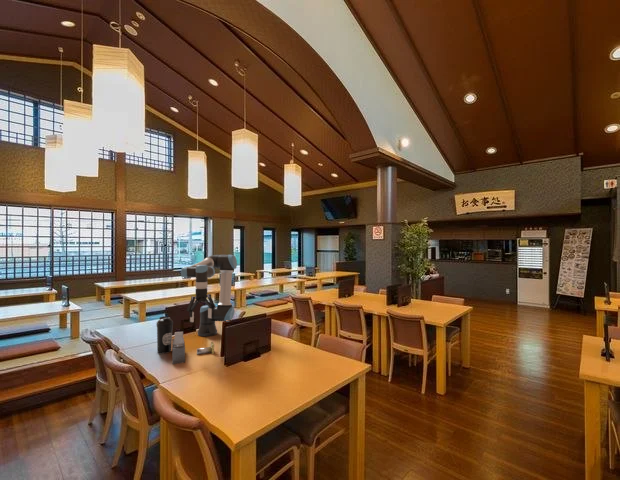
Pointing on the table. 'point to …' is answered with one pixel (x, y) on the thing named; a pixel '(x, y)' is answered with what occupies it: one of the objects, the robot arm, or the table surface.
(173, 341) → the hitch beam
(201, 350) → the lynch pin
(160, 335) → the water bottle
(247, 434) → the table surface
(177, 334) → the plate
